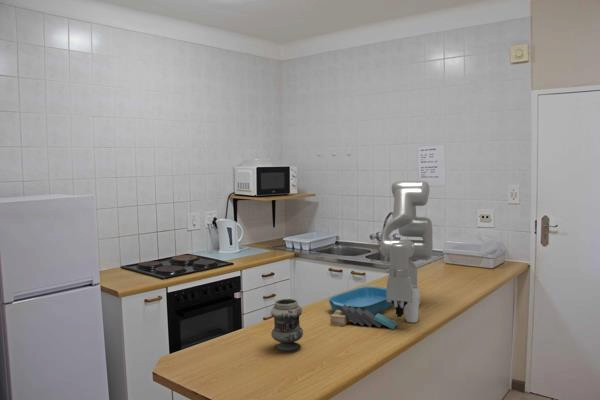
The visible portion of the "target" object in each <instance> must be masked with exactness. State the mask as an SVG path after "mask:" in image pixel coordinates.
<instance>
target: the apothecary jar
mask: <svg viewBox="0 0 600 400" xmlns="http://www.w3.org/2000/svg"><path fill="white" fill-rule="evenodd" d="M270 314H271V316H272V317H273V318H274V319H273V320H274V322H273V323H274V324H273V325H274V326H273V327H274V328H273V329H272V331H271V332H270V333H271V335H270V336H271V338H272V339H273V340H275V341H276V342H279V343H277V344H275V346H274V350H275V351H276V352H279V353H282V354H283V353H284V354H285V353H286V354H287V353H288V354H290V353H294V352H298V351H299V350H301V348H302V347H301V344H300V343H298V342H297V341H299V340H300V339H301V338H303V336H304V330H303V328H302V327H301V326H300V316H301V315H302V314H303V308H302V307H301V306H300V305H299V303H298V300H297V299H294V298H280V299H277V300H275V301H274V306H273V307H272V308H271V309H270Z"/></svg>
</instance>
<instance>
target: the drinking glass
mask: <svg viewBox="0 0 600 400" xmlns="http://www.w3.org/2000/svg"><path fill="white" fill-rule="evenodd" d="M420 291H421V290H420V287H419V286H418V285H417V286H414V285H412V300H413V302H412V303H411V304H406V305H405V307H404V314H405V316H404V318H405V319H404V320H405V321H406V322H408V323H418V322H419V308H420V306H419V301H420V293H421V292H420Z"/></svg>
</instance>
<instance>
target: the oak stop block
mask: <svg viewBox="0 0 600 400" xmlns="http://www.w3.org/2000/svg"><path fill="white" fill-rule="evenodd" d="M349 322H351V320H350V319H349V318H348V317H347V316H346V315H344V314H343V313H342V312H341V311H340V310H336V311H335V312H334V311H333V313H332V314H331V315H330V326H334V327H346V325H347V324H348V323H349Z"/></svg>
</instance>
